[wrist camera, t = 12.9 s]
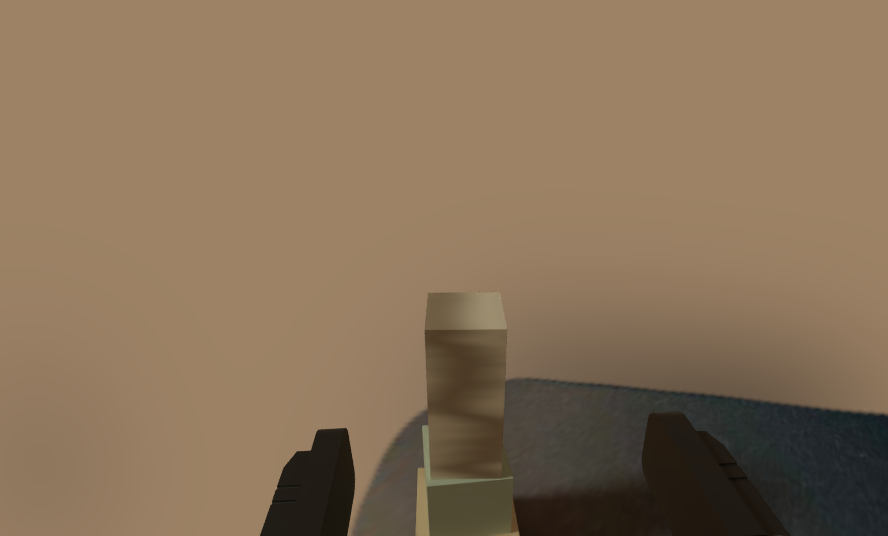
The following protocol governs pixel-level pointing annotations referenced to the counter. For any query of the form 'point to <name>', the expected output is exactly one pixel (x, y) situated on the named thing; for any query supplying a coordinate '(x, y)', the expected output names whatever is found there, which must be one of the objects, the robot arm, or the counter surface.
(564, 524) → the counter surface
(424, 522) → the oak block
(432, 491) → the sage block
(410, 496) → the counter surface
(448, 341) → the birch pillar
